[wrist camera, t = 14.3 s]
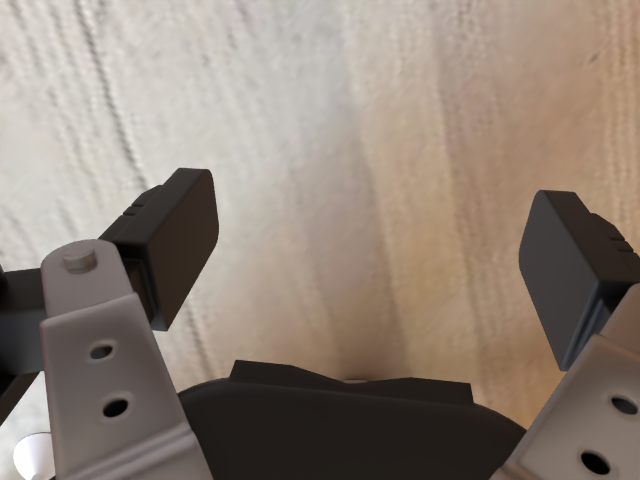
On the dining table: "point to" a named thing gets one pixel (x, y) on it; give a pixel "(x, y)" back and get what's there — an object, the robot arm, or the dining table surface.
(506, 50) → the dining table surface
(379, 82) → the dining table surface
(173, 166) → the dining table surface
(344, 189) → the dining table surface
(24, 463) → the champagne flute
